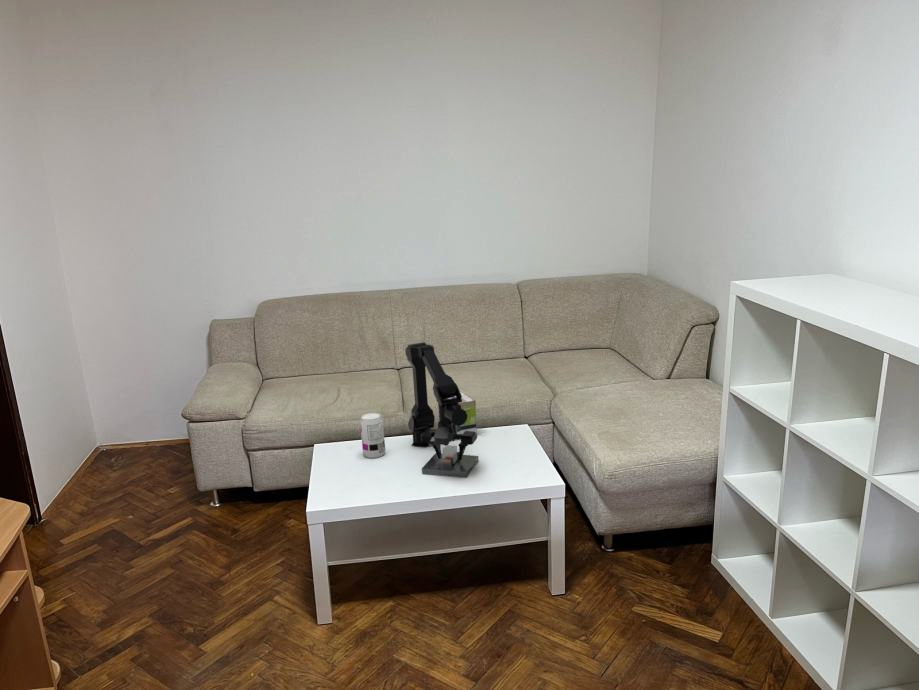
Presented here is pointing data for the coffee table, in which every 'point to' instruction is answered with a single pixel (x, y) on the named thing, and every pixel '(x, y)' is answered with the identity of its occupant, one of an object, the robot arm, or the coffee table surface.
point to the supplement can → (372, 435)
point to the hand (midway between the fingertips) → (450, 459)
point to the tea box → (470, 409)
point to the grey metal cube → (450, 453)
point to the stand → (450, 466)
